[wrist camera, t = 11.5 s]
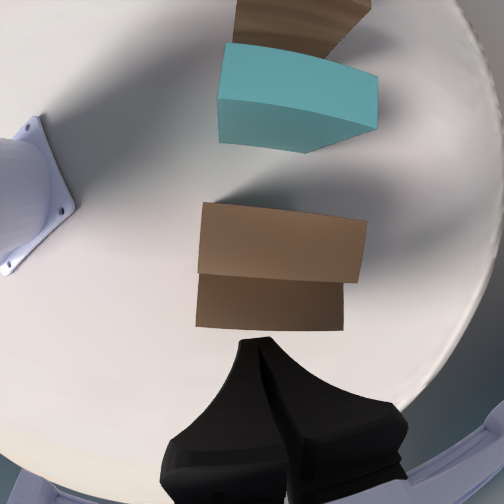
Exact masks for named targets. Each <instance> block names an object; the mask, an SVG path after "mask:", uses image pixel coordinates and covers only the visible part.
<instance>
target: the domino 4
mask: <svg viewBox="0 0 504 504" xmlns="http://www.w3.org/2000/svg"><path fill="white" fill-rule="evenodd" d="M343 324H344V295H343V283H341V282H320V281H302V280H285V279H269V278H255V277H240V276H227V275H214V274H202V273H199V284H198V297H197V311H196V327H207V328H222V329H239V330H263V331H343Z"/></svg>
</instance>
